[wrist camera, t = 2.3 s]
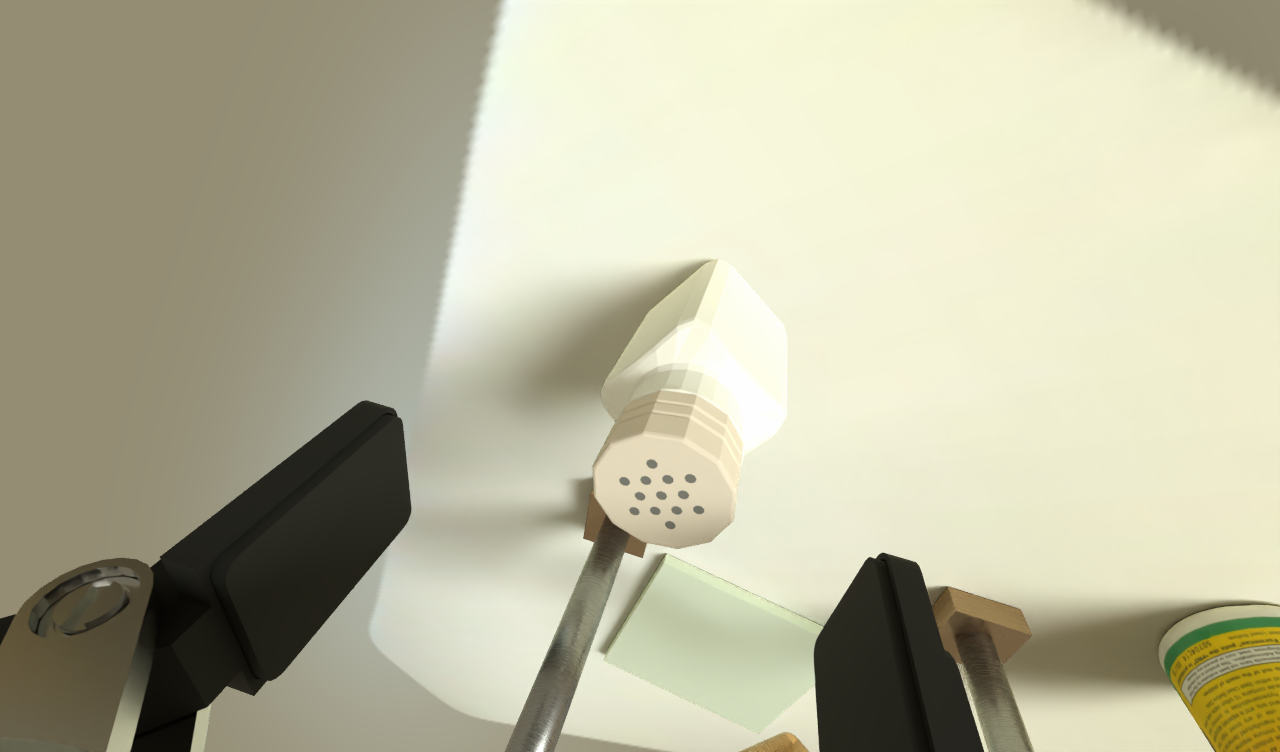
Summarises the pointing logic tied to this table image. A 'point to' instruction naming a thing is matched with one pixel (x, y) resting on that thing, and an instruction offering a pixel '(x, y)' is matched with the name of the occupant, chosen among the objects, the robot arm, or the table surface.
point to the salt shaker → (691, 409)
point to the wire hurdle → (967, 633)
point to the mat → (717, 645)
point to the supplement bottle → (1229, 674)
